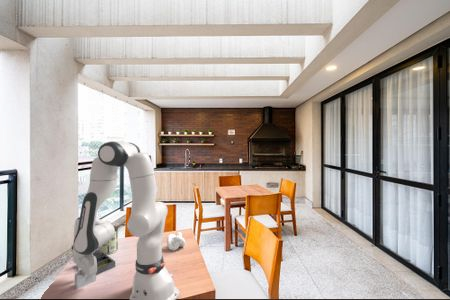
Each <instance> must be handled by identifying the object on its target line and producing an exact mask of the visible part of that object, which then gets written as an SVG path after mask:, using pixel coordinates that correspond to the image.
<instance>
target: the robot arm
mask: <svg viewBox="0 0 450 300" xmlns="http://www.w3.org/2000/svg"><path fill="white" fill-rule="evenodd" d="M91 163H92V164H91V166H90V167H91V168H90V174H89V185H88V189H87V191H86V194H85V196H84V197H83V200H82V204H81V208H80V214H79V217H77V218H76V220H75V222H74V227H73V243H72V245H71V251H72V260H73V263H74V264H75V265H76V266H77V270H78V272H77V273H79V272H81V271H83V272H84V273H85V274H86V275H87V277H86V282H90V281H91V277H92V275H94V274H96V273H97V260H96V257H95V256H94V255H93V253H94V252H95V250H96V249H97V248H99V247H100V246H102V245H103V244H105V243H106V242H108V241H109V240H111V239H112V238H113V237H114V235H115V227H114V226H115V225H114V224H113V223H112V222H110V221H105V220H102V219H100V218H98V217H97V214H98V210H99V209H100V206H102V205H103V204H104V202H105V201H107V199H109V198H111V196H113V194H114V193H115V192H116V188H117V183H118V182H117V180H118V178H117V177H118V169H119V168H122V167H125V168H126V169H127V172H128V178H129V183H130V184H129V185H130V189H131V198H132V199H131V209H130V216H129V218H128V221H127V226H126V227H127V230H128V232H129V234H131V235H132V236H133V237H138V240H137V242H136V259H135V270H136V271H135V273H134V276H133V279H132V289H131V294H130V295H129V300H177V299H178V297H179V296H180V295H181V294H180V293H181V291H180V290H179V288H178V287H176V285H175V282H174V275H173V273H172V272H171V273H169V271H168V268H167V267H166V266H165V265H166V262H165V260H164V256H163V237H164V231H165V225H166V219H167V216H168V212H169V210H168V209H169V208H168V206H167V205H166V203H164V202H163V201H157V198H156V197H157V193H158V185H157V180H156V174H155V170H154V166H153V163H152V160H151V158H150V155H149V154H147V153H146V152H141V149H140V148H139V146H138V145H136V144H135V143H133V142H127V141H121V140H120V141H118V140H117V141H107V142H104V143H103V144H101V145H100V146H99V148H98V150H97V156H96V157H94V159H93V161H92V162H91Z"/></svg>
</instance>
